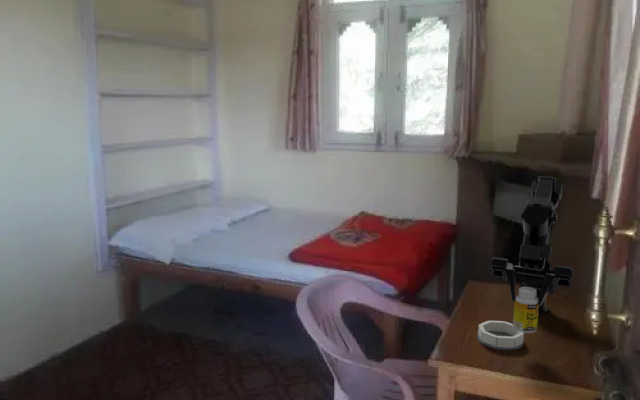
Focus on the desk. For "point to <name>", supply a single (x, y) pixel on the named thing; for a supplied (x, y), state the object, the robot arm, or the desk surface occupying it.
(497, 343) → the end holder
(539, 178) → the robot arm
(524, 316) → the supplement bottle
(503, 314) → the desk surface
